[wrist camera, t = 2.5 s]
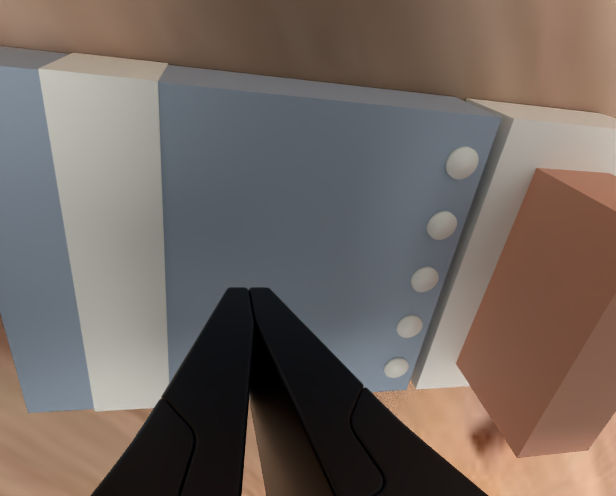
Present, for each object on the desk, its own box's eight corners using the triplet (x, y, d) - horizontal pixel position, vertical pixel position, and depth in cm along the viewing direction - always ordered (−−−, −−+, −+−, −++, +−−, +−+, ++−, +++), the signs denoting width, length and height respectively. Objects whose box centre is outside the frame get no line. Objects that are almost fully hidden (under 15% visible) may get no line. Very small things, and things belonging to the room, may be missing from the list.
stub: (495, 339, 15) (602, 471, 11) (392, 343, 14) (465, 487, 10) (599, 113, 11) (822, 184, 7) (466, 98, 11) (633, 170, 6)
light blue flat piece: (383, 344, 14) (407, 393, 13) (53, 355, 12) (26, 417, 10) (455, 95, 10) (505, 116, 9) (-13, 42, 8) (-75, 57, 6)
